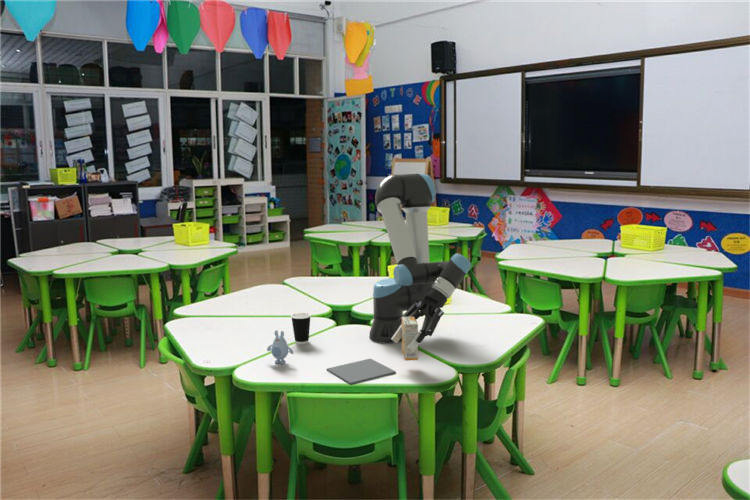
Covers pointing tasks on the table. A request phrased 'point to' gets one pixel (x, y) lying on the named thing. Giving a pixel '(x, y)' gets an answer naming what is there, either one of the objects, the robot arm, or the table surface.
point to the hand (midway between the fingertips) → (402, 345)
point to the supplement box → (409, 337)
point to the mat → (360, 371)
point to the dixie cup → (301, 327)
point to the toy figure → (280, 348)
